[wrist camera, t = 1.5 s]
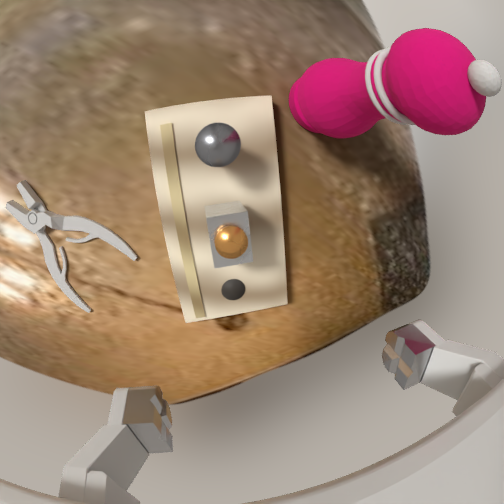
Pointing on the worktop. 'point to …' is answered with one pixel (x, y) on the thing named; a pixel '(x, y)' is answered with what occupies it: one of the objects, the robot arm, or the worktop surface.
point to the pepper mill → (397, 88)
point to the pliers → (42, 217)
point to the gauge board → (215, 192)
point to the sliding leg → (229, 234)
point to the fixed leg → (217, 144)
